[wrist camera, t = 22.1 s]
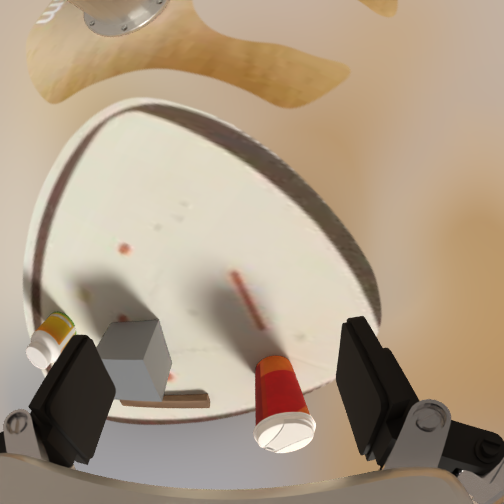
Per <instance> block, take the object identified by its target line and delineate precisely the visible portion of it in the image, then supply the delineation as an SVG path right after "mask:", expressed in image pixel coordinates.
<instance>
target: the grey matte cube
mask: <svg viewBox="0 0 504 504" xmlns="http://www.w3.org/2000/svg"><path fill="white" fill-rule="evenodd" d="M96 349H97V351H98V353H99V355H100V357H101V359H102V361H103V363H104V366H105V368H106V370H107V372H108V374H109V375H110V377H111V379H112V381H113V383H114V385H115V388H116V394H115V397H114V399H118V400H132V401H154V402H162V399H163V395H164V391H165V388H166V384H167V380H168V376H169V372H170V369H171V365H172V360H171V357H170V354H169V351H168V348H167V345H166V342H165V338H164V335H163V332H162V328H161V325H160V321H159V320H147V321H133V322H115V323H111V324H110V326H109V327H108V329H107V331H106V332H105V334H104V336H103V337H102V339H101V341H100V342H99V344H98V346H97V347H96Z"/></svg>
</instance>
